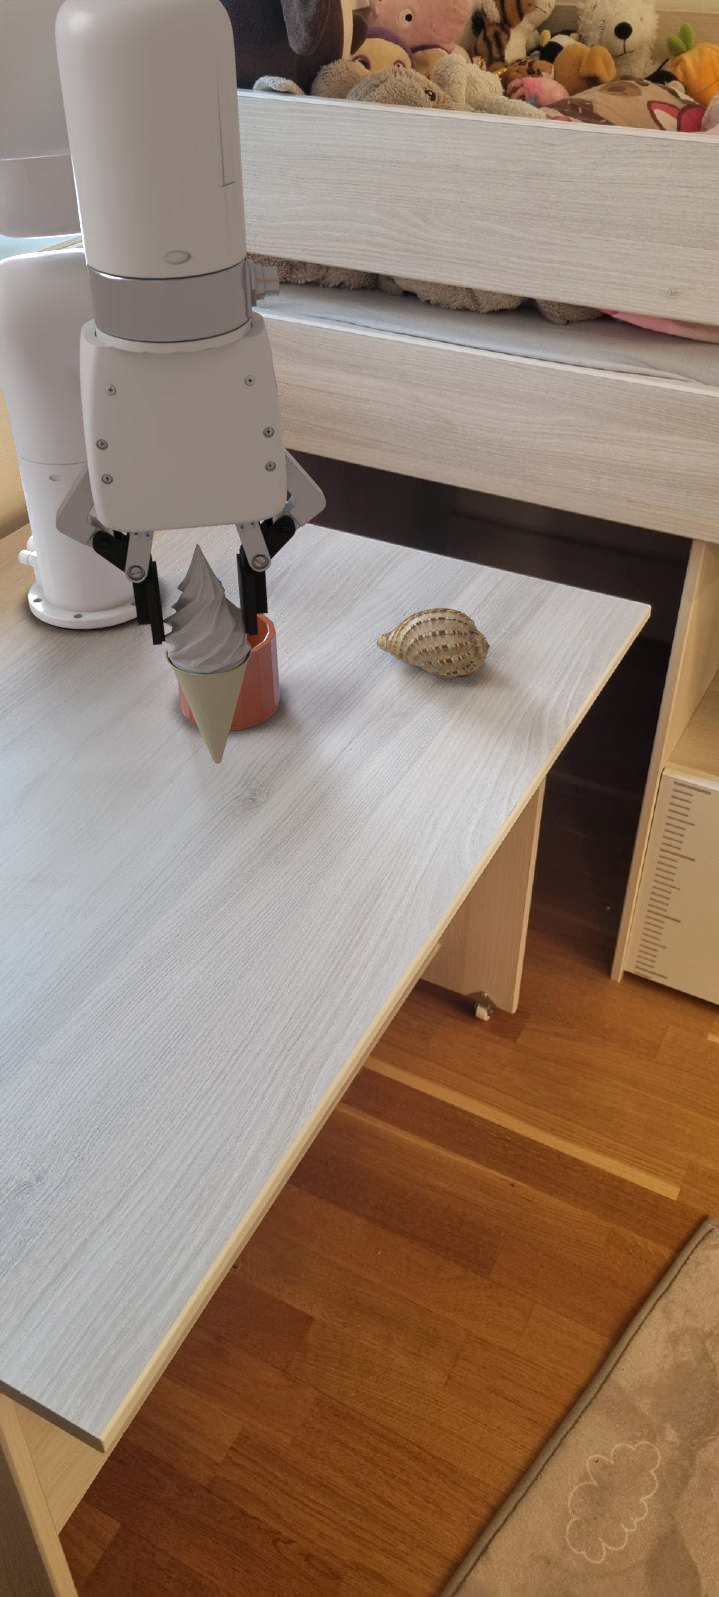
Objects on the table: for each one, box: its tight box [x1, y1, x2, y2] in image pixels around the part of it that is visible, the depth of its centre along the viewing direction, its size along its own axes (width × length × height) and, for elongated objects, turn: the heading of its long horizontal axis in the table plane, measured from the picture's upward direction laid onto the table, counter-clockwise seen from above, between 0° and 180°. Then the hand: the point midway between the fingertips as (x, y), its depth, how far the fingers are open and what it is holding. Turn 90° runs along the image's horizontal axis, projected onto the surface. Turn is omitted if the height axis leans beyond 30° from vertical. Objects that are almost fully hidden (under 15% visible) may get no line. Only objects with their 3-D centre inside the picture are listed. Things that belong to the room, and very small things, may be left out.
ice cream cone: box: [163, 543, 252, 765], centre depth 70 cm, size 5×5×15 cm
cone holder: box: [177, 607, 281, 732], centre depth 100 cm, size 8×8×7 cm
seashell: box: [376, 607, 491, 679], centre depth 106 cm, size 8×6×10 cm
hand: (203, 625), depth 69 cm, fingers closed on ice cream cone, 4 cm apart
